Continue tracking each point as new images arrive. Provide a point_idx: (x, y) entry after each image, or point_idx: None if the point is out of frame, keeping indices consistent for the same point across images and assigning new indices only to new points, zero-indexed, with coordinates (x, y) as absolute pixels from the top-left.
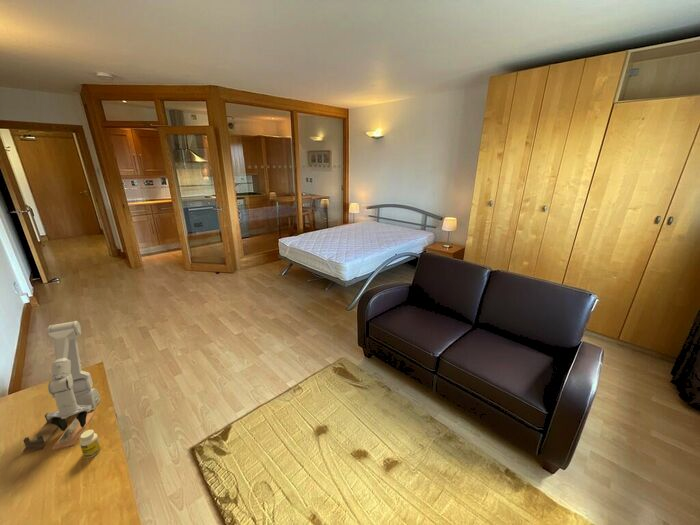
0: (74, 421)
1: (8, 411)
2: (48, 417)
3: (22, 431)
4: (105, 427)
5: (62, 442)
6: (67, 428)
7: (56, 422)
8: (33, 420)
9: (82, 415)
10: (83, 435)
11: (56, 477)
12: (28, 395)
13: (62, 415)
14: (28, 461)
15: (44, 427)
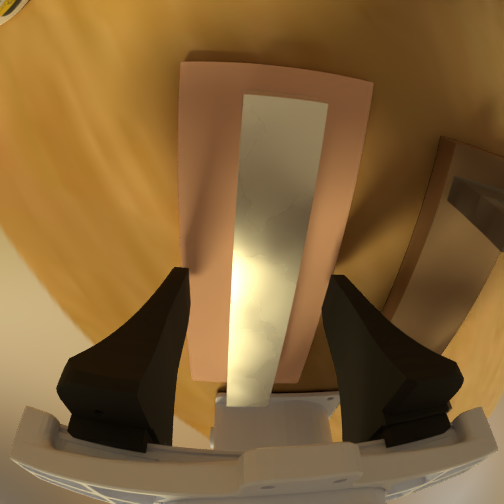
0: (269, 344)
1: (495, 400)
2: (481, 433)
3: (499, 330)
4: (28, 218)
5: (290, 95)
6: (320, 298)
7: (414, 370)
8: (463, 374)
9: (64, 391)
10: None
11: None
12: None
13: (343, 494)
14: (482, 51)
15: (445, 336)
